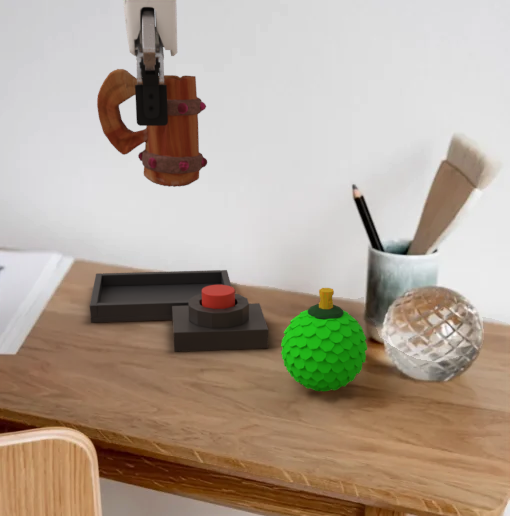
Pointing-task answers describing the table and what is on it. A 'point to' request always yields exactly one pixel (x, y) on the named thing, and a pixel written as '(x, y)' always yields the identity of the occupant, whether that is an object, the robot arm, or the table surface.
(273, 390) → the table surface
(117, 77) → the mug
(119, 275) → the pan
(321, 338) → the ornament
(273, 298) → the table surface
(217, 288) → the button
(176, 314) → the panel
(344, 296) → the table surface
